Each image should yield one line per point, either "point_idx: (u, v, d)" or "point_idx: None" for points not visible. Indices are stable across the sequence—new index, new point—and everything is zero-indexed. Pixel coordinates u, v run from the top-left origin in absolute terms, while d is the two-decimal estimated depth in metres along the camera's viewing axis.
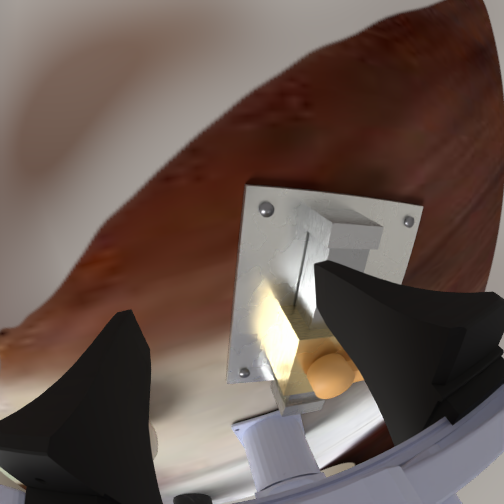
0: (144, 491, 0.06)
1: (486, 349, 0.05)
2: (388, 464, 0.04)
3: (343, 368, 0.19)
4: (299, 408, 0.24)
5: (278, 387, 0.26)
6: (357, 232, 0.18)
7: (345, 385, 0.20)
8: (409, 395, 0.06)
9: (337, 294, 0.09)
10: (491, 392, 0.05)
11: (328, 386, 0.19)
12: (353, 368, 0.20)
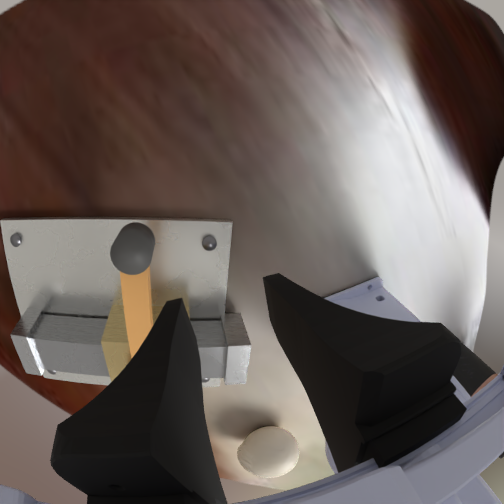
0: (213, 484, 0.06)
1: (430, 388, 0.05)
2: (388, 464, 0.04)
3: None
4: (234, 370, 0.20)
5: None
6: (23, 356, 0.16)
7: None
8: (340, 428, 0.06)
9: (281, 311, 0.09)
10: (434, 435, 0.04)
11: None
12: None
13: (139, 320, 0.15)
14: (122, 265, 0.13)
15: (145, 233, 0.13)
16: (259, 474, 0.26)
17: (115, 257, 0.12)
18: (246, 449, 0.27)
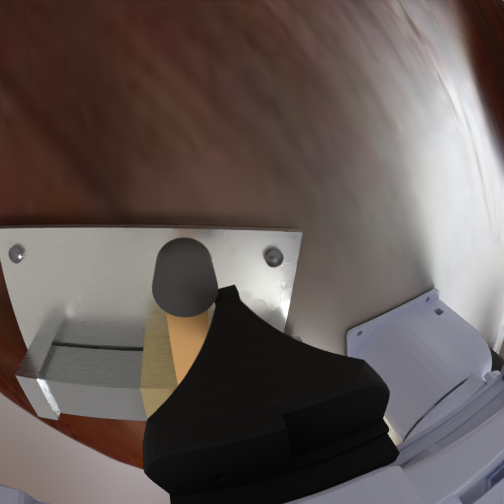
0: None
1: (351, 428, 0.04)
2: (388, 464, 0.04)
3: None
4: None
5: None
6: (33, 399, 0.12)
7: None
8: None
9: None
10: None
11: None
12: None
13: None
14: (172, 305, 0.09)
15: (203, 254, 0.09)
16: None
17: (160, 295, 0.09)
18: None
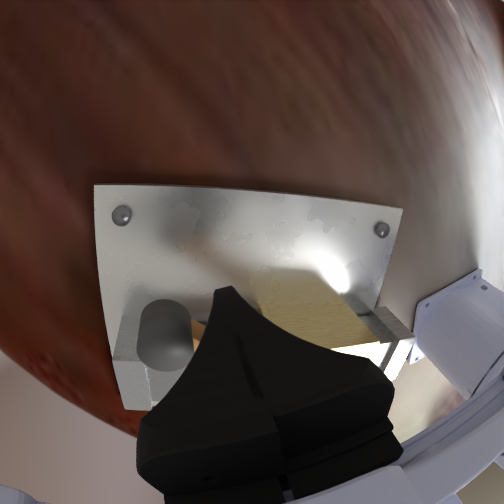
0: None
1: (356, 426, 0.04)
2: (388, 464, 0.04)
3: None
4: (392, 366, 0.18)
5: None
6: (127, 388, 0.13)
7: None
8: None
9: None
10: (362, 475, 0.04)
11: None
12: None
13: None
14: (172, 365, 0.10)
15: (155, 315, 0.10)
16: None
17: (158, 366, 0.09)
18: None
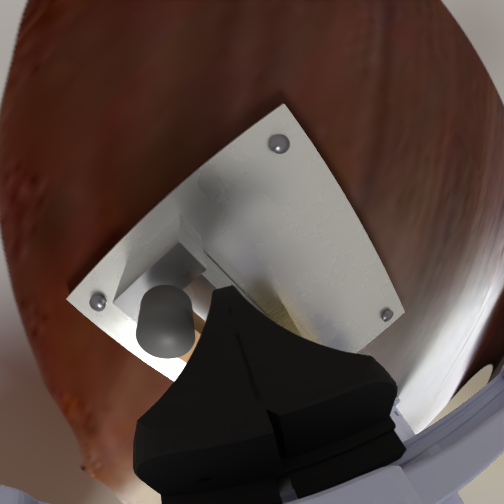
0: None
1: (359, 425, 0.04)
2: (388, 464, 0.04)
3: None
4: None
5: None
6: (150, 283, 0.11)
7: None
8: None
9: None
10: (365, 474, 0.04)
11: None
12: None
13: None
14: (167, 352, 0.09)
15: (162, 299, 0.09)
16: None
17: (152, 351, 0.09)
18: None
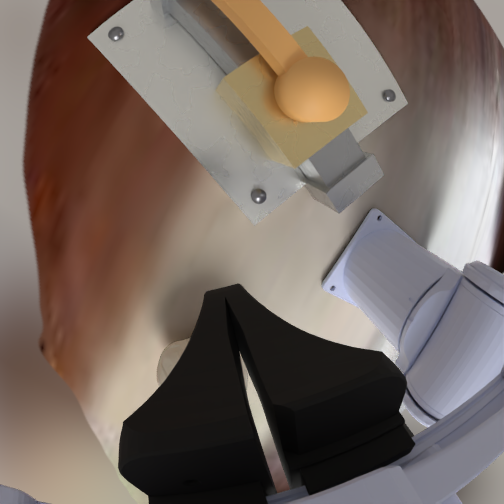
0: (269, 472, 0.06)
1: (369, 420, 0.05)
2: (388, 464, 0.04)
3: (290, 103, 0.12)
4: (349, 185, 0.17)
5: (311, 184, 0.19)
6: None
7: (312, 67, 0.11)
8: (279, 449, 0.06)
9: (235, 324, 0.09)
10: (375, 469, 0.04)
11: (327, 98, 0.12)
12: (281, 69, 0.11)
13: None
14: None
15: None
16: None
17: None
18: None
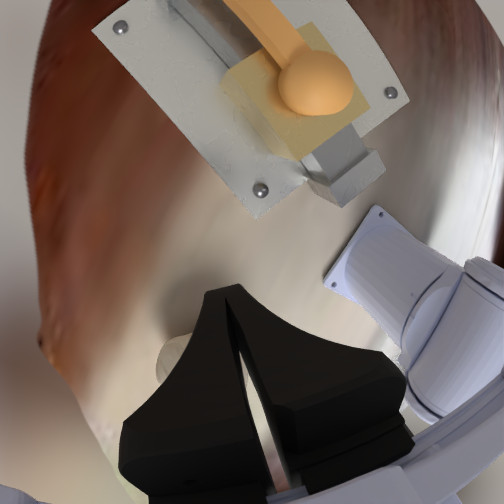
0: (269, 472, 0.06)
1: (369, 420, 0.05)
2: (388, 464, 0.04)
3: (294, 95, 0.12)
4: (352, 179, 0.16)
5: (313, 179, 0.19)
6: None
7: (317, 60, 0.11)
8: (279, 449, 0.06)
9: (235, 324, 0.09)
10: (375, 469, 0.04)
11: (330, 91, 0.12)
12: (285, 62, 0.11)
13: None
14: None
15: None
16: None
17: None
18: None
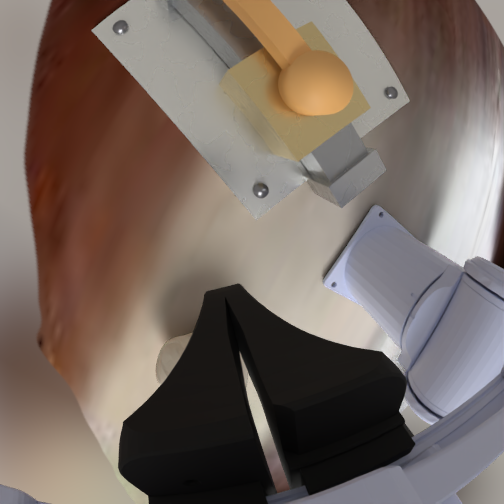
0: (269, 472, 0.06)
1: (369, 420, 0.05)
2: (388, 464, 0.04)
3: (294, 95, 0.12)
4: (352, 179, 0.16)
5: (313, 179, 0.19)
6: None
7: (317, 60, 0.11)
8: (279, 449, 0.06)
9: (235, 324, 0.09)
10: (375, 469, 0.04)
11: (330, 91, 0.12)
12: (285, 62, 0.11)
13: None
14: None
15: None
16: None
17: None
18: None
